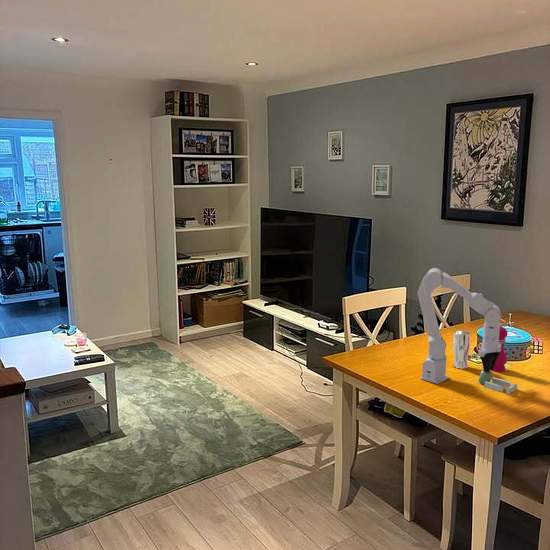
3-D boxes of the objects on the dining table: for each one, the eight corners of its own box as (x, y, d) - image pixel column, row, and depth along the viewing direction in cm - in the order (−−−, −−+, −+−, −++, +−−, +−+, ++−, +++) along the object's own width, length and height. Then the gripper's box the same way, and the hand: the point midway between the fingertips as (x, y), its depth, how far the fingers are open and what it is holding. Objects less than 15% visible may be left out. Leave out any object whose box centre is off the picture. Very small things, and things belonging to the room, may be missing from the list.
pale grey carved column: (450, 367, 230) (451, 333, 227) (453, 362, 236) (455, 329, 233) (467, 370, 227) (469, 335, 224) (470, 365, 233) (472, 331, 230)
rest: (508, 394, 203) (509, 389, 202) (484, 386, 210) (484, 382, 209) (517, 389, 207) (517, 384, 207) (493, 382, 214) (493, 377, 214)
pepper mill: (505, 367, 230) (508, 321, 227) (507, 373, 223) (511, 326, 220) (486, 365, 232) (489, 320, 228) (488, 371, 225) (491, 325, 222)
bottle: (486, 386, 210) (491, 367, 208) (476, 381, 213) (481, 362, 211) (491, 383, 213) (496, 364, 211) (481, 378, 216) (486, 360, 214)
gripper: (491, 342, 201) (489, 377, 204) (509, 334, 211) (507, 368, 213) (473, 338, 206) (471, 372, 209) (492, 331, 216) (489, 363, 218)
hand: (488, 370), depth 211 cm, fingers closed on bottle, 2 cm apart
